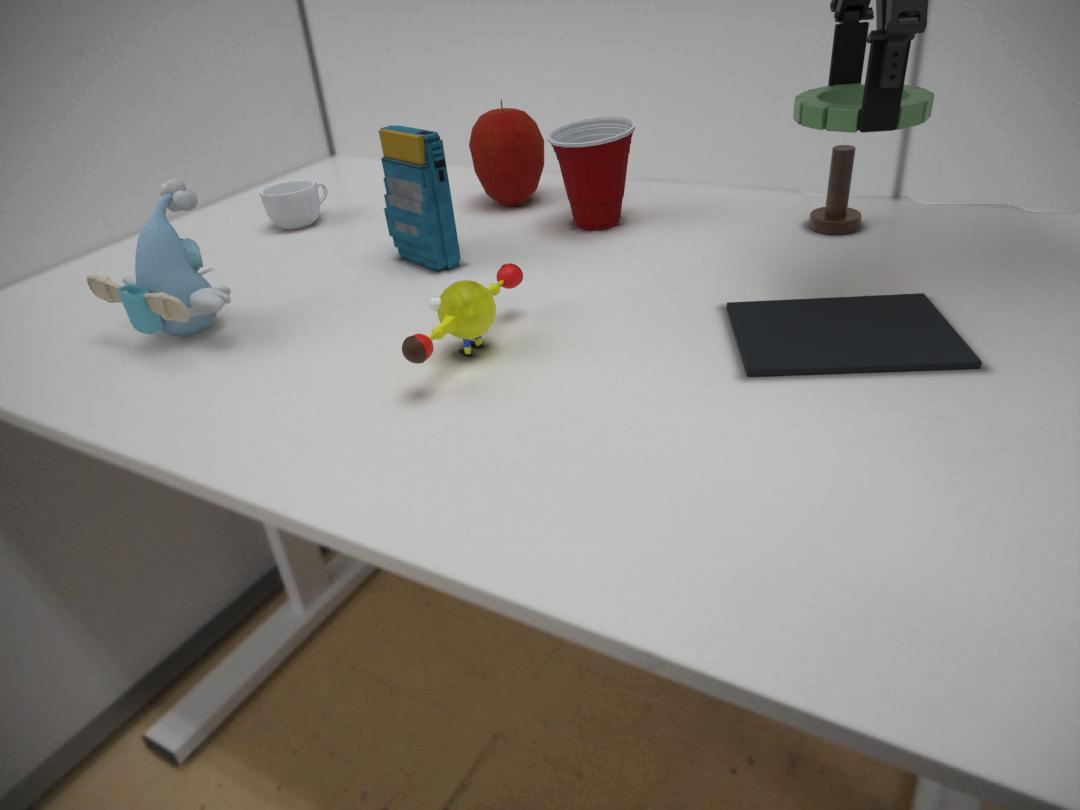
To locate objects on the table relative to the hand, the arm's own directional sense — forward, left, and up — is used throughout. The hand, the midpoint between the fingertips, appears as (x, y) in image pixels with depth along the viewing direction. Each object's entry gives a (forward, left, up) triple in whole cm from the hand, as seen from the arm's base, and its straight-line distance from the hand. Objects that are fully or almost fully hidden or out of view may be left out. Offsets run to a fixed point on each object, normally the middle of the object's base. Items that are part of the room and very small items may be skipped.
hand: (858, 114), depth 64 cm
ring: (0, 0, 0) cm, 0 cm away
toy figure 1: (+66, +3, -17) cm, 68 cm away
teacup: (+66, -31, -16) cm, 75 cm away
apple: (+36, -34, -16) cm, 52 cm away
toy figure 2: (+35, +10, -16) cm, 40 cm away
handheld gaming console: (+44, -13, -16) cm, 49 cm away
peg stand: (-4, -17, -16) cm, 24 cm away
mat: (+2, +10, -16) cm, 19 cm away
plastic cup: (+24, -23, -17) cm, 37 cm away
